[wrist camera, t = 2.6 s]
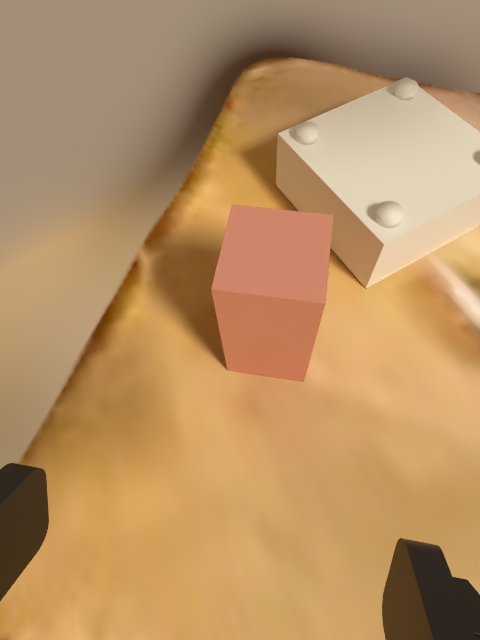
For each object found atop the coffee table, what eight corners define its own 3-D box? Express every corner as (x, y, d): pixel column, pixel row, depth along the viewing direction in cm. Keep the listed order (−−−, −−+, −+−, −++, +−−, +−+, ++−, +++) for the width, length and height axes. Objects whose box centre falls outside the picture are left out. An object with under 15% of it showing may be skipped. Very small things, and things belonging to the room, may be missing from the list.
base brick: (389, 132, 37) (409, 68, 32) (490, 219, 32) (533, 159, 27) (275, 185, 34) (278, 124, 29) (365, 288, 29) (387, 237, 24)
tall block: (240, 305, 29) (231, 204, 20) (311, 314, 29) (333, 214, 20) (227, 370, 27) (211, 289, 18) (303, 381, 26) (325, 303, 18)
